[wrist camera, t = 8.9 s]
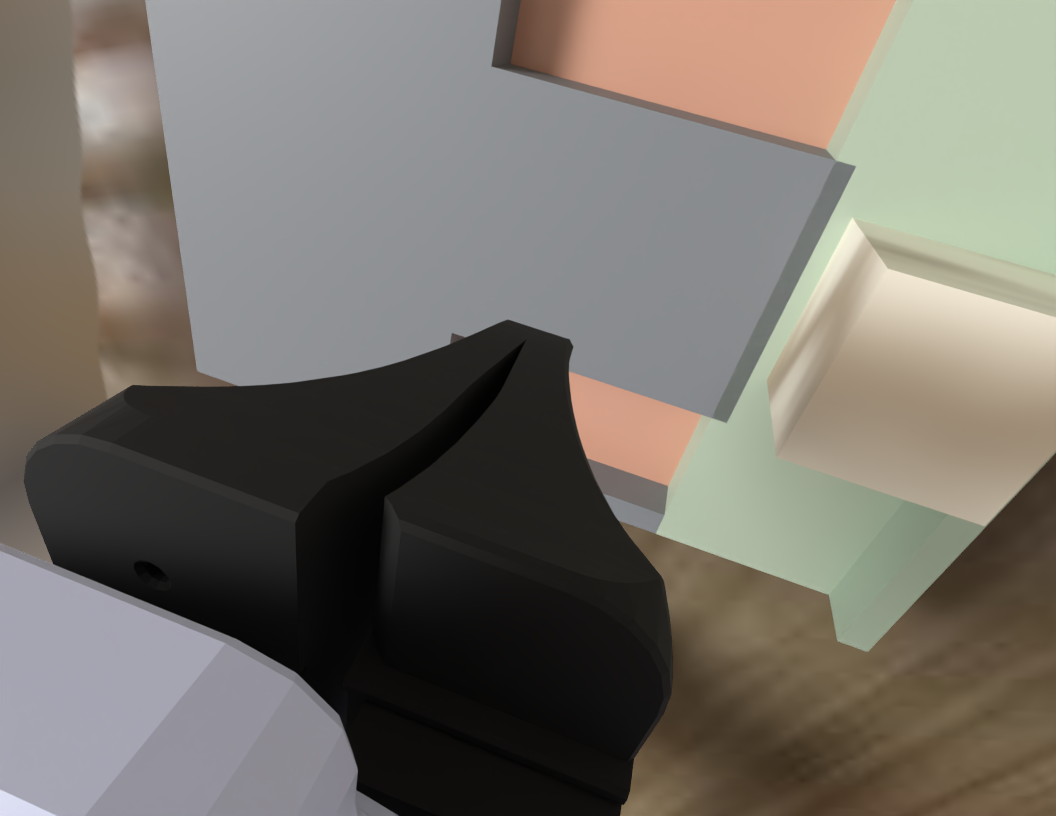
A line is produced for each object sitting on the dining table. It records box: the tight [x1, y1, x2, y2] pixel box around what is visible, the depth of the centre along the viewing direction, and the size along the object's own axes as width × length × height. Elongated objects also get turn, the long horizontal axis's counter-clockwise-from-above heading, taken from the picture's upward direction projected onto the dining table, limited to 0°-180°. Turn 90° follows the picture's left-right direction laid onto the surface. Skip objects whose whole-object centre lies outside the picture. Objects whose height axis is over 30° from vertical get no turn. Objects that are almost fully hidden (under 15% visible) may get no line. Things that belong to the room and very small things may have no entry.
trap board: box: [145, 0, 1056, 652], centre depth 17 cm, size 19×27×4 cm
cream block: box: [767, 218, 1056, 526], centre depth 15 cm, size 5×5×4 cm
